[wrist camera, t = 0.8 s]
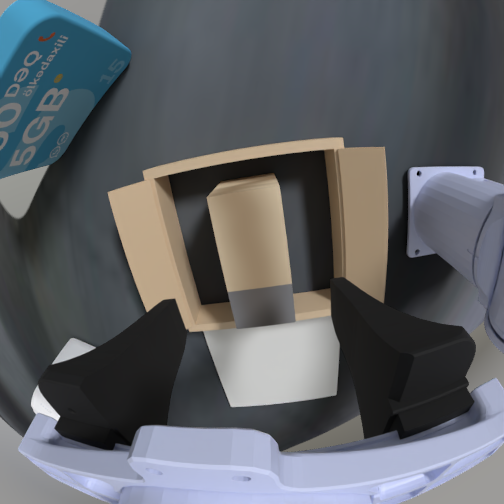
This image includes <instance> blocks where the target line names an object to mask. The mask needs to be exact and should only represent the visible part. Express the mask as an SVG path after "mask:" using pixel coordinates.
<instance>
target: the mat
mask: <svg viewBox="0 0 504 504" xmlns="http://www.w3.org/2000/svg"><path fill="white" fill-rule="evenodd" d="M203 332H204V335H205V338H206V341H207V344H208V347H209V350H210V353H211V355H212V358H213V361H214V364H215V366H216V369H217V372H218V375H219V377H220V380H221V383H222V385H223V388H224V390H225V393H226V396H227V398H228V401H229V403H230V406H231V407H241V406H257V405H269V404H279V403H288V402H296V401H303V400H310V399H317V398H323V397H329V396H334V395H336V394H337V382H338V367H339V349H340V343H339V341H338V338H337V336H336V333H335V330H334V326H333V322H332V318H331V316H325V317H319V318H312V319H306V320H299V321H296V322H293V323H285V324H278V325H270V326H262V327H253V328H243V329H237V328H232V329H221V330H209V331H203Z"/></svg>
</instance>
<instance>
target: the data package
mask: <svg viewBox="0 0 504 504" xmlns="http://www.w3.org/2000/svg"><path fill="white" fill-rule="evenodd" d="M130 59H131V51H130V50H129V49H128V48H127V47H126V46H124V45H123V44H122V43H121V42H119V41H118V40H117V39H116V38H114V37H113V36H112V35H110V34H109V33H108V32H106V31H105V30H104V29H102V28H101V27H99V26H97V25H95V24H93V23H91V22H90V21H88V20H86V19H84V18H82V17H80V16H78V15H76V14H74V13H72V12H70V11H68V10H66V9H64V8H61V7H59V6H57V5H55V4H53V3H50V2H48V1H46V0H17V1H15V2H14V3H12V4H11V5H10V6H9V7H8V8H7V9H6V10H5V11H4V13H3V14H2V15H1V17H0V179H1V178H5V177H8V176H11V175H14V174H18V173H21V172H24V171H28V170H32V169H35V168H39V167H43V166H47V165H50V164H52V163H54V162H55V161H57V160H58V159H59V158H60V157H61V156H62V155H63V154H64V152H65V151H66V149H67V148H68V146H69V144H70V143H71V141H72V139H73V138H74V136H75V135H76V133H77V132H78V130H79V129H80V127H81V126H82V124H83V123H84V121H85V120H86V118H87V117H88V115H89V114H90V112H91V111H92V110H93V108H94V107H95V106H96V104H97V103H98V101H99V100H100V99H101V98H102V96H103V95H104V94H105V92H106V91H107V90H108V89H109V87H110V86H111V85H112V84H113V82H114V81H115V80H116V79H117V78H118V76H119V75H120V74H121V73H122V72H123V71H124V69H125V68H126V67H127V65H128V64H129V62H130Z"/></svg>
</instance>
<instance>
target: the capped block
mask: <svg viewBox="0 0 504 504" xmlns="http://www.w3.org/2000/svg"><path fill="white" fill-rule="evenodd" d="M207 202H208V207H209V211H210V216H211V221H212V225H213V230H214V235H215V239H216V244H217V248H218V253H219V257H220V261H221V266H222V270H223V274H224V279H225V283H226V287H227V291H228V296H229V300H230V304H231V308H232V312H233V316H234V320H235V324H236V328H237V329H243V328H253V327H262V326H270V325H278V324H285V323H293V322H296V319H295V309H294V299H293V289H292V280H291V271H290V263H289V254H288V246H287V238H286V230H285V222H284V215H283V207H282V200H281V193H280V186H279V184H278V181H277V179H276V177H275V174H274V173H270V174H263V175H256V176H250V177H244V178H237V179H231V180H226V181H221V182H220V183H219V184H218V185H217V186H216V187H215V189H214V190H213V191H212V192H211V193H210V194H209V195H208V196H207Z"/></svg>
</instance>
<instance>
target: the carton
mask: <svg viewBox="0 0 504 504" xmlns="http://www.w3.org/2000/svg"><path fill="white" fill-rule="evenodd" d="M316 150H324V154H325V162H326V170H327V180H328V190H329V200H330V213H331V226H332V242H333V264H334V278H339V277H344V278H346V279H347V280H349V281H350V282H351V283H353V284H354V285H356V286H357V287H358V288H360V289H361V290H363V291H364V292H366V293H367V294H369V295H370V296H372V297H373V298H375V299H377V300H379V301H380V302H382V303H384V297H385V285H386V271H387V252H388V190H387V171H386V157H385V147H357V148H344V143H343V138H320V139H309V140H300V141H291V142H283V143H275V144H268V145H261V146H254V147H248V148H242V149H236V150H230V151H225V152H219V153H214V154H209V155H204V156H199V157H195V158H190V159H186V160H181V161H177V162H173V163H169V164H164V165H160V166H157V167H154V168H150V169H147V170H144V171H143V175H144V179H145V181H142V182H138V183H135V184H132V185H128V186H125V187H122V188H119V189H116V190H113V191H110V192H108V195H109V199H110V203H111V207H112V211H113V214H114V218H115V221H116V225H117V228H118V232H119V235H120V238H121V241H122V245H123V248H124V251H125V254H126V257H127V260H128V263H129V266H130V269H131V272H132V274H133V277H134V280H135V283H136V285H137V288H138V291H139V293H140V296H141V299H142V301H143V304H144V306H145V309H146V311H147V312H148V311H149V310H150V309H152V308H153V307H154V306H155V305H157V304H158V303H159V302H161V301H162V300H165V299H176V302H177V305H178V308H179V311H180V314H181V316H182V319H183V322H184V325H185V328H186V329H189V332H196V331H209V330H221V329H232V328H236V324H235V320H234V316H233V312H232V308H231V304H230V302H225V303H215V304H206V305H201V301H200V298H199V295H198V291H197V288H196V284H195V281H194V277H193V274H192V270H191V267H190V263H189V259H188V256H187V252H186V248H185V244H184V240H183V236H182V233H181V229H180V225H179V220H178V216H177V212H176V208H175V204H174V199H173V195H172V191H171V186H170V182H169V177H168V175H170V174H175V173H179V172H183V171H188V170H193V169H198V168H202V167H207V166H213V165H218V164H223V163H229V162H235V161H240V160H246V159H253V158H259V157H266V156H273V155H281V154H289V153H297V152H306V151H316ZM293 299H294V309H295V319H296V321H299V320H306V319H312V318H319V317H325V316H331V290H330V288H329V289H323V290H316V291H310V292H303V293H296V294H293Z"/></svg>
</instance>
